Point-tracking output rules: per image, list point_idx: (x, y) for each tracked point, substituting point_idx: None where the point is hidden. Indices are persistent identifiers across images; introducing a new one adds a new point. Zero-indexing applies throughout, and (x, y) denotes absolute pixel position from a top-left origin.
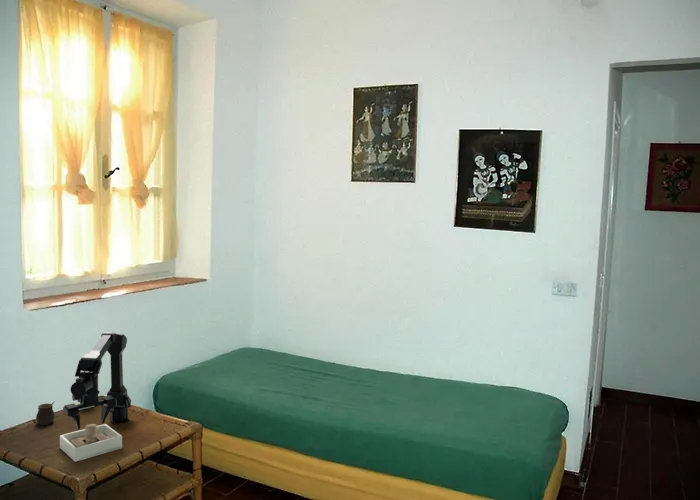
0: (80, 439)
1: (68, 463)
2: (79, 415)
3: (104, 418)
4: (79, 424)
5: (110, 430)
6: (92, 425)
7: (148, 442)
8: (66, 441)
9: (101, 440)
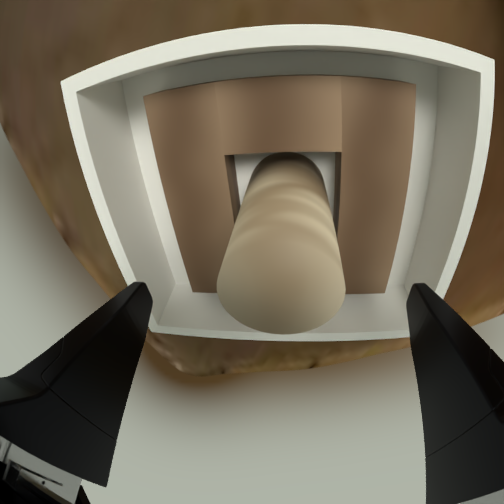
0: (219, 131)
1: None
2: (105, 481)
3: (425, 376)
4: (131, 371)
5: (458, 201)
6: (300, 294)
7: (493, 291)
8: (100, 219)
9: (345, 246)
